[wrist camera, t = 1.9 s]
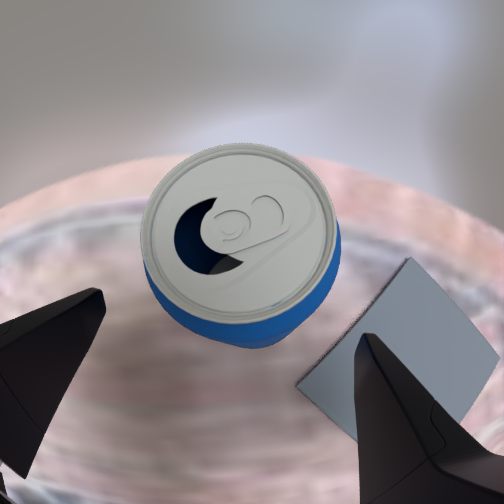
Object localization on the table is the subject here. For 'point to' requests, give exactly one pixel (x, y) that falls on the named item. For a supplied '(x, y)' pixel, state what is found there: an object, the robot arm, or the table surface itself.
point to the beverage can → (240, 243)
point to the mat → (409, 349)
